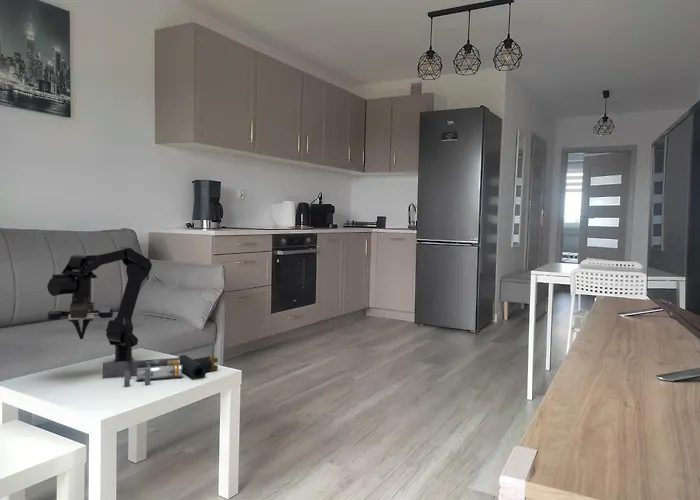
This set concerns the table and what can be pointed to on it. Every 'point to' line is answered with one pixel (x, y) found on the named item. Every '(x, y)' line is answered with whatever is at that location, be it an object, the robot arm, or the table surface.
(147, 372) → the twin upright pegs
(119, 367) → the gray rectangular bar
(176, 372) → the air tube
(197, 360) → the pipe connector
